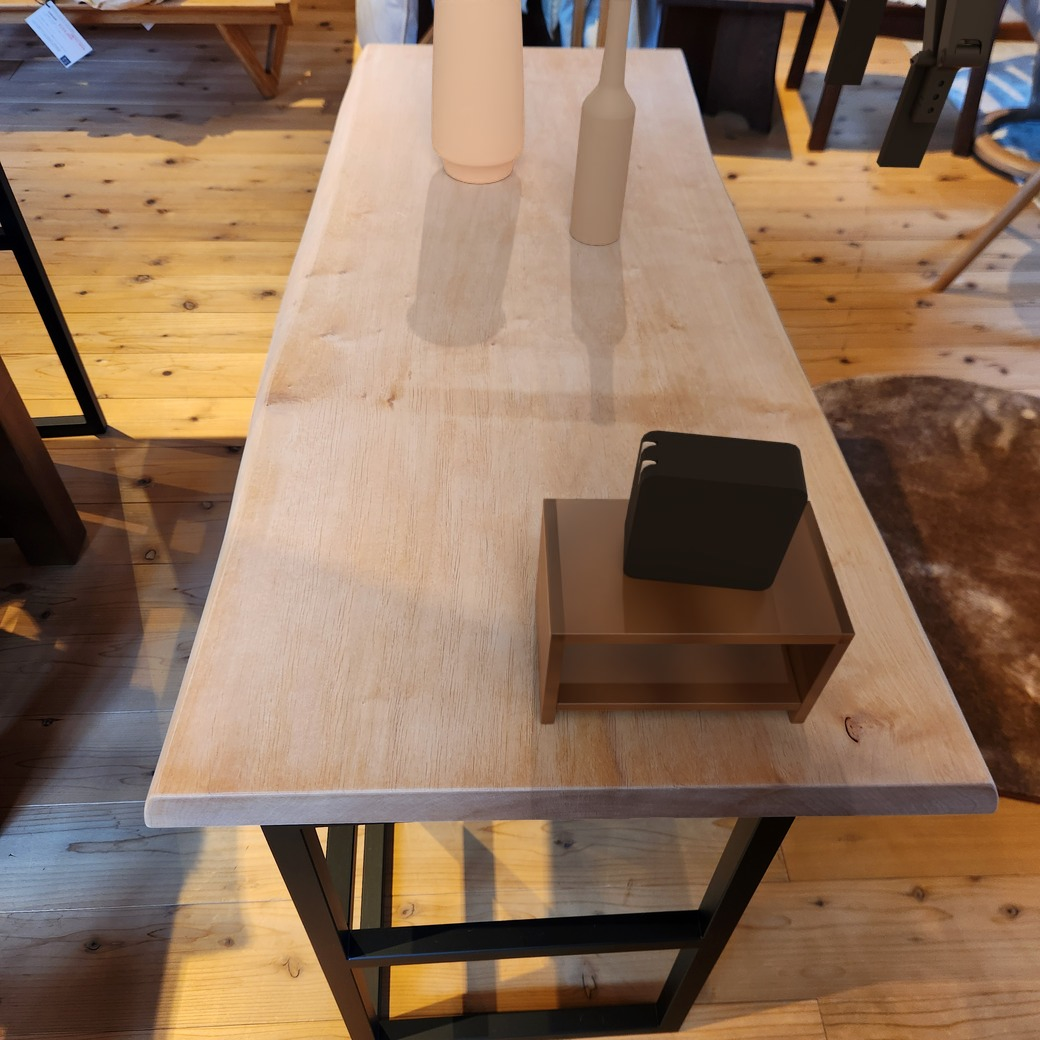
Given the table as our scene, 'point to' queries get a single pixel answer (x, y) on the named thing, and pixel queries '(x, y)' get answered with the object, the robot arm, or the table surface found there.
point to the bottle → (605, 141)
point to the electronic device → (712, 510)
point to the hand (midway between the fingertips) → (867, 121)
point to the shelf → (678, 625)
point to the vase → (478, 88)
